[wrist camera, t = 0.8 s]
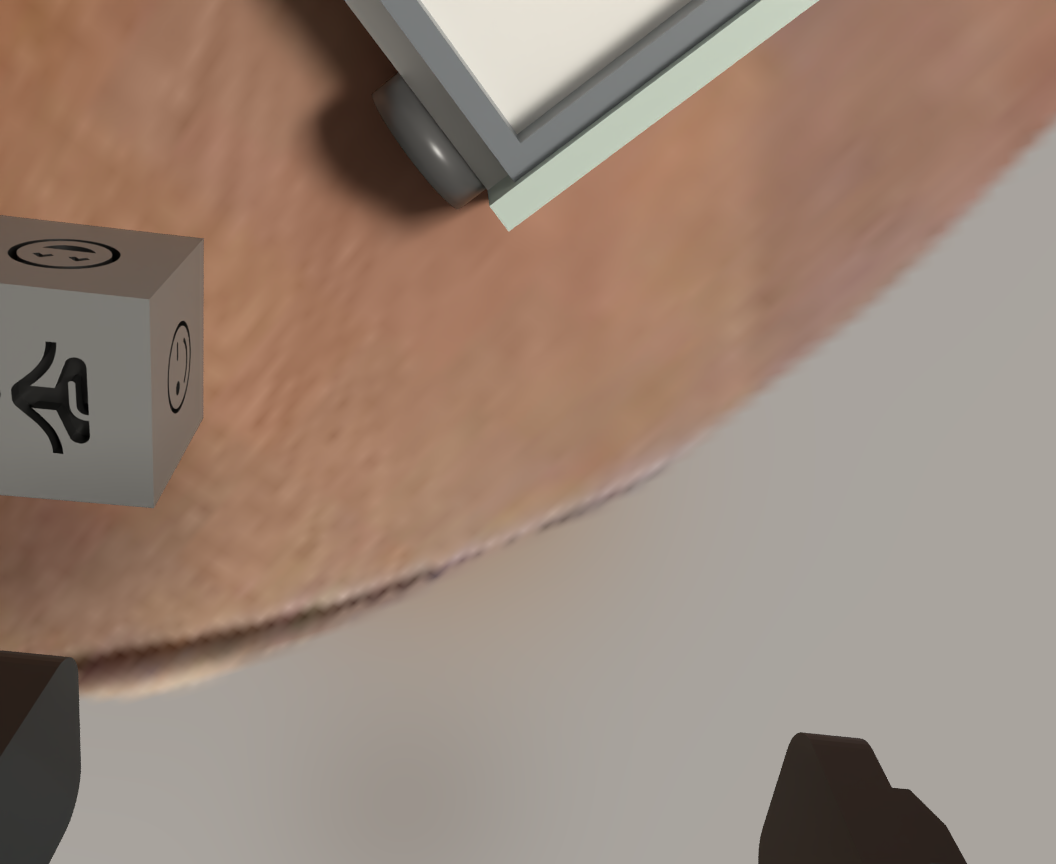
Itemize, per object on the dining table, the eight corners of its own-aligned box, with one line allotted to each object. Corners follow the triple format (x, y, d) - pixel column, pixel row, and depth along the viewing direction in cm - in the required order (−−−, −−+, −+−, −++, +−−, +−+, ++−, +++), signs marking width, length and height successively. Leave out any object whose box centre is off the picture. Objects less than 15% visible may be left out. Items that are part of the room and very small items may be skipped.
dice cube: (203, 417, 28) (153, 508, 23) (11, 399, 27) (-78, 488, 22) (204, 237, 25) (148, 299, 21) (-4, 214, 25) (-107, 271, 20)
